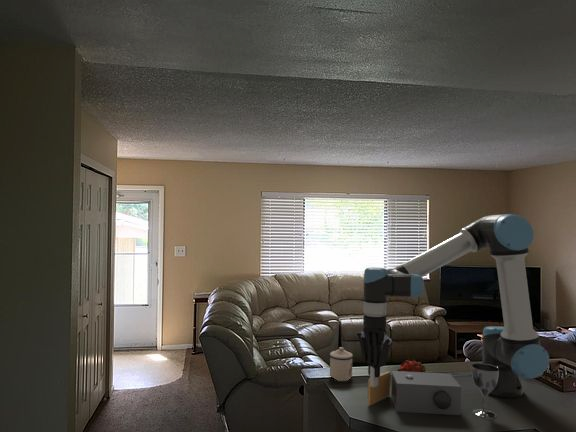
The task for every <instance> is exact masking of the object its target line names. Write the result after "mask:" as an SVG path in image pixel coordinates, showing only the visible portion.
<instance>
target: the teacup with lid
mask: <svg viewBox="0 0 576 432" xmlns="http://www.w3.org/2000/svg"><path fill="white" fill-rule="evenodd" d="M353 358H354V355H353V353H352V352H349V351H347V350H345V348H344V347H342V346H340V347H338V349H336V350H332V351H331V352H330V353H329V377H330V376H331V377H333V378H334V379H336V380H337V382H348V380H349V379H350V378H351V376H352V377H353ZM336 380H335V381H336ZM349 381H350V380H349Z"/></svg>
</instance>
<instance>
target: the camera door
mask: <svg viewBox="0 0 576 432" xmlns="http://www.w3.org/2000/svg"><path fill="white" fill-rule="evenodd" d="M387 397H391V371H390V370H389V371H388V370H387V371H385V372H383V373H380V377H378V386H376V387H370V378H368V381H367V404H368V405H369V406H371V405H373V404H376V403H377V402H379V401H381V400H384V399H386V398H387Z"/></svg>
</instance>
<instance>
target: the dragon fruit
mask: <svg viewBox="0 0 576 432" xmlns="http://www.w3.org/2000/svg"><path fill="white" fill-rule="evenodd" d="M426 370H427V368H426V366H425V365H423V362H421V361H418V362H417V361H416V360H415V359H413V360H409V359H407V360H405V361H403V362H401V363H400V366H399V367H398V369H397V370H396V371H404V372H425V373H426Z"/></svg>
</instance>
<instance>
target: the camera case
mask: <svg viewBox="0 0 576 432" xmlns="http://www.w3.org/2000/svg"><path fill="white" fill-rule="evenodd" d="M390 398H391V400H392V402H393V403H392V404H393V405H394V408H395V411H396V412H397V413H398V412H399V413H414V414H415V413H416V414H430V415H431V414H432V415H433V414H435V415H436V414H437V415H449V416H450V415H451V416H462V386H461V384H459V382H458V381H457V380H456V379H455V377H454V376H453V375H452V373H442V372H440V373H439V372H426V371H425V372H404V371H397V370H391V372H390Z"/></svg>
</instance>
